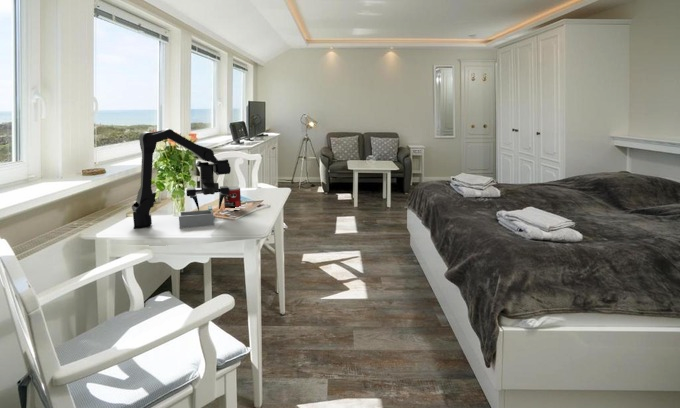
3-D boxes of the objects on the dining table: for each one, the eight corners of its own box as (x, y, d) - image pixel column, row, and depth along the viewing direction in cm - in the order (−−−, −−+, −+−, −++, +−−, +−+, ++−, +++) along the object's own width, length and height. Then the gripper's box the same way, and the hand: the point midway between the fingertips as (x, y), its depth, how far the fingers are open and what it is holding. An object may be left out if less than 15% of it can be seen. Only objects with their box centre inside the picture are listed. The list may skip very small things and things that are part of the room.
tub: (179, 228, 199) (178, 216, 198) (179, 223, 208) (178, 212, 207) (214, 225, 204) (213, 214, 203) (212, 220, 212) (211, 209, 211)
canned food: (221, 210, 232) (220, 188, 230) (232, 207, 239) (231, 186, 236) (233, 212, 228) (232, 189, 226) (244, 209, 235) (243, 187, 233)
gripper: (185, 179, 204) (188, 214, 208) (230, 177, 210) (231, 211, 213) (185, 175, 215) (187, 209, 218) (227, 173, 221) (229, 206, 224)
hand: (209, 209), depth 218 cm, fingers open, 9 cm apart
